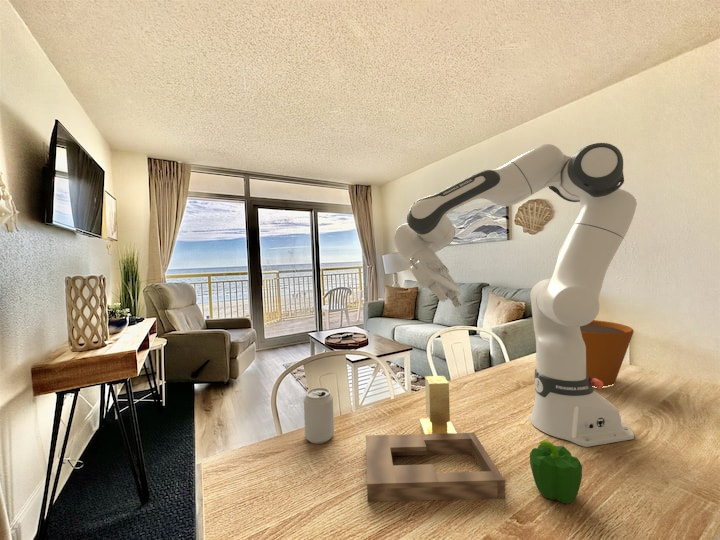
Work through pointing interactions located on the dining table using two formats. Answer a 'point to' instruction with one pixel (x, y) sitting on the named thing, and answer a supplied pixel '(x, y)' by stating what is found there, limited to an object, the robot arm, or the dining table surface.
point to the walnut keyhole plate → (428, 469)
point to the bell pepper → (556, 472)
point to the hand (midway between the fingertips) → (452, 303)
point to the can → (318, 415)
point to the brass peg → (437, 406)
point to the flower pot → (605, 349)
